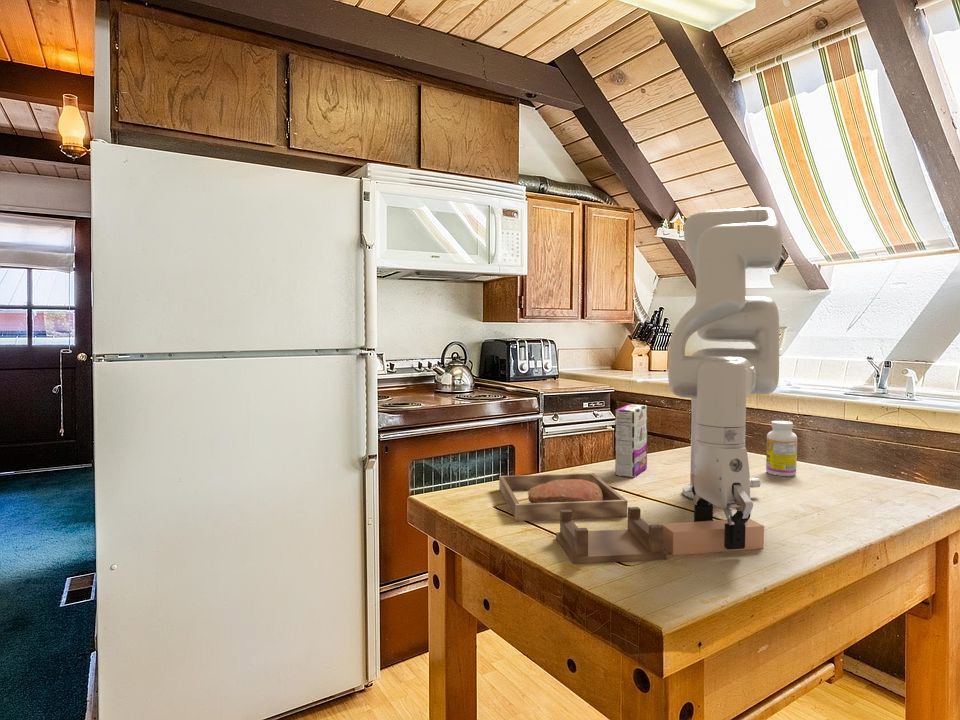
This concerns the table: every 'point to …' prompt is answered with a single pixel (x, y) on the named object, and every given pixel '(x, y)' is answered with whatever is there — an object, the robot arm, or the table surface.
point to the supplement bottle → (781, 449)
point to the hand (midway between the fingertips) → (718, 537)
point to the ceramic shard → (565, 491)
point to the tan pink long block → (706, 537)
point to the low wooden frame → (546, 511)
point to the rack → (611, 541)
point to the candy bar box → (630, 440)
